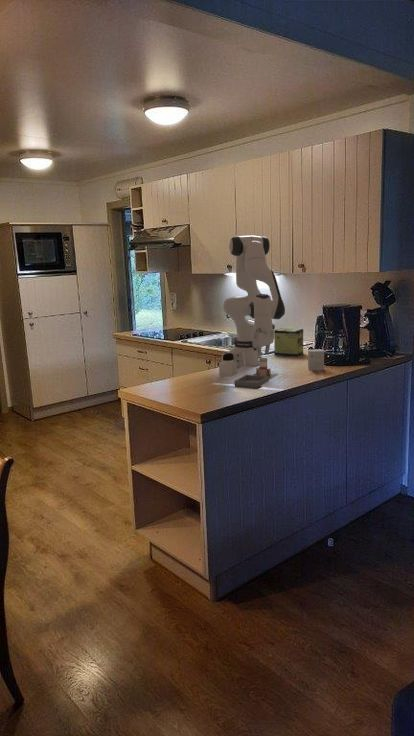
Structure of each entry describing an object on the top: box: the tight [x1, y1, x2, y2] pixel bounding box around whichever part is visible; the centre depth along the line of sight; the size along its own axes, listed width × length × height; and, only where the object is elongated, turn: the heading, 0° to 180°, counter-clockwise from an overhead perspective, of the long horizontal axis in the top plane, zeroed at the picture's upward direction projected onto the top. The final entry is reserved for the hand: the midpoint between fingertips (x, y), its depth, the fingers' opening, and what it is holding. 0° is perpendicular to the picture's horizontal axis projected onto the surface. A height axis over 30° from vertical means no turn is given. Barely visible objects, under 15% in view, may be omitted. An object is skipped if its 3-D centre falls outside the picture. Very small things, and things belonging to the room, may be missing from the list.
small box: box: [307, 348, 325, 371], centre depth 280 cm, size 8×6×10 cm
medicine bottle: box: [218, 352, 238, 378], centre depth 272 cm, size 7×7×12 cm
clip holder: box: [253, 367, 279, 380], centre depth 265 cm, size 12×12×5 cm
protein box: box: [273, 327, 304, 357], centre depth 324 cm, size 10×16×16 cm
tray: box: [234, 374, 269, 390], centre depth 253 cm, size 12×14×3 cm
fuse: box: [258, 357, 268, 376], centre depth 265 cm, size 4×4×9 cm
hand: (263, 354), depth 263 cm, fingers open, 8 cm apart
